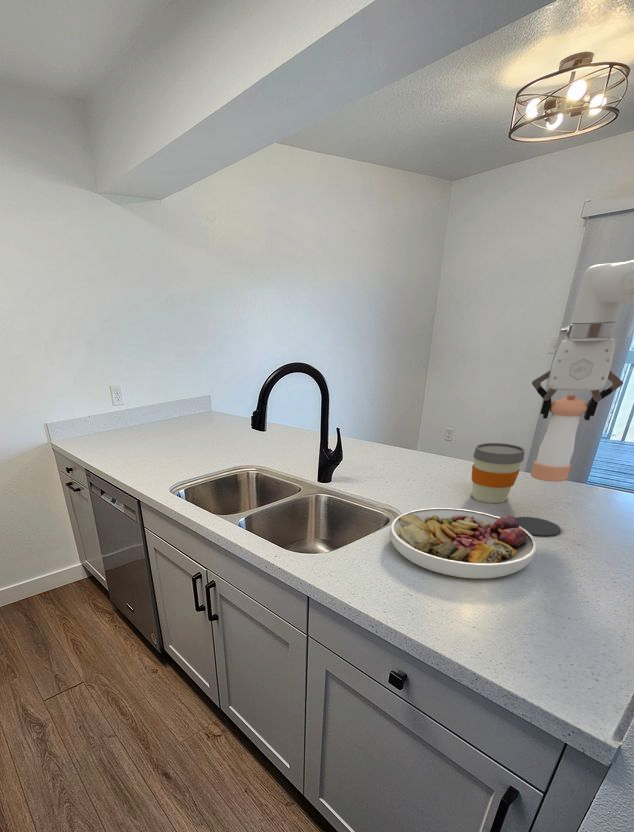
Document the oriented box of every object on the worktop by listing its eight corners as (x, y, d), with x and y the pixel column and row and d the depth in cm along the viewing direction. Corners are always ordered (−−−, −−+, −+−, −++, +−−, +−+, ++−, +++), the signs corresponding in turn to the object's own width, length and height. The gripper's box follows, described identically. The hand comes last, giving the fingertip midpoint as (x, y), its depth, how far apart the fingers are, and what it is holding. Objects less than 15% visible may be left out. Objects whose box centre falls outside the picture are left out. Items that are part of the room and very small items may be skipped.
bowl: (433, 594, 87) (439, 560, 84) (367, 532, 114) (370, 504, 111) (566, 575, 91) (577, 541, 87) (472, 519, 118) (478, 492, 114)
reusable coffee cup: (512, 508, 123) (525, 456, 116) (463, 501, 129) (472, 451, 122) (513, 493, 132) (526, 444, 125) (467, 488, 138) (477, 441, 131)
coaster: (558, 522, 113) (558, 520, 113) (561, 539, 105) (562, 538, 105) (509, 515, 118) (509, 514, 118) (508, 531, 110) (508, 530, 110)
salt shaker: (569, 475, 105) (594, 393, 97) (563, 484, 101) (589, 398, 92) (534, 470, 110) (555, 391, 101) (527, 478, 105) (548, 396, 97)
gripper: (540, 335, 92) (520, 419, 100) (648, 331, 84) (616, 423, 92) (539, 333, 98) (520, 413, 106) (640, 329, 90) (611, 417, 98)
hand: (565, 417), depth 99 cm, fingers closed on salt shaker, 7 cm apart
